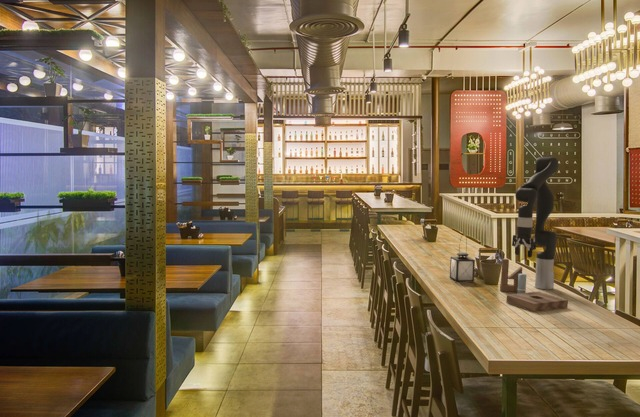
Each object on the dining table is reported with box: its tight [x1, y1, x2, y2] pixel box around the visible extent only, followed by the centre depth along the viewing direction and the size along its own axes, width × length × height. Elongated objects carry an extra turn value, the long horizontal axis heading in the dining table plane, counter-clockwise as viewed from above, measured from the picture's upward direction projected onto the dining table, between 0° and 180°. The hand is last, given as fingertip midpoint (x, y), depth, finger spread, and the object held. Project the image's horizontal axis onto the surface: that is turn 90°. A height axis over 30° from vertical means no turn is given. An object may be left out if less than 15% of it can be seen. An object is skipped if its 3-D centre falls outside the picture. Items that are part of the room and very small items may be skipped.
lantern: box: [449, 234, 476, 283], centre depth 306 cm, size 11×11×28 cm
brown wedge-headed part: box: [499, 258, 523, 293], centre depth 279 cm, size 4×11×18 cm, turn 79°
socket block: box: [506, 291, 569, 313], centre depth 251 cm, size 22×18×4 cm
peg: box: [516, 273, 527, 294], centre depth 268 cm, size 4×4×12 cm
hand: (523, 256), depth 267 cm, fingers open, 8 cm apart
